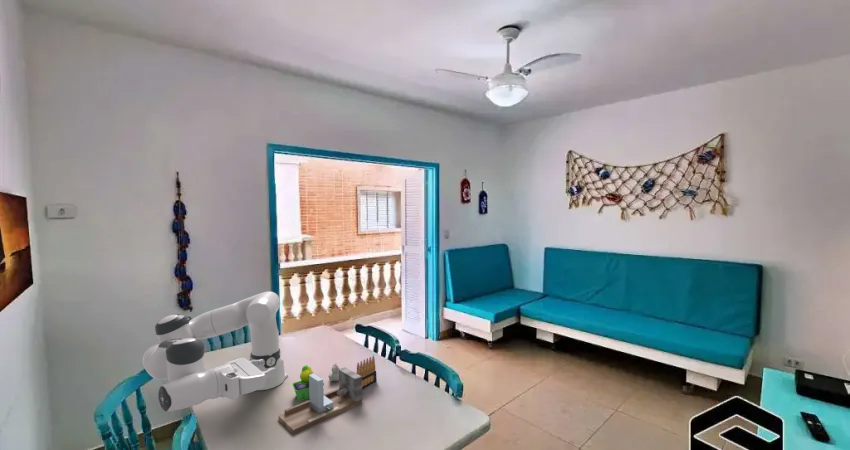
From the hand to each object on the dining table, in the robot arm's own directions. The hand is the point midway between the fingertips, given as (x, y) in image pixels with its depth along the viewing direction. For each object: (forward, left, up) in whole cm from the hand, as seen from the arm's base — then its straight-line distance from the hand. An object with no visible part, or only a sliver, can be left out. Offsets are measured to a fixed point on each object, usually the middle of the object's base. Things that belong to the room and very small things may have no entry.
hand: (269, 365), depth 123 cm
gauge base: (0, +19, -24) cm, 30 cm away
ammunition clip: (-4, +42, -24) cm, 49 cm away
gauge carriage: (+1, +19, -22) cm, 29 cm away
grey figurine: (-18, +35, -24) cm, 46 cm away
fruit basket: (-15, +21, -24) cm, 35 cm away
